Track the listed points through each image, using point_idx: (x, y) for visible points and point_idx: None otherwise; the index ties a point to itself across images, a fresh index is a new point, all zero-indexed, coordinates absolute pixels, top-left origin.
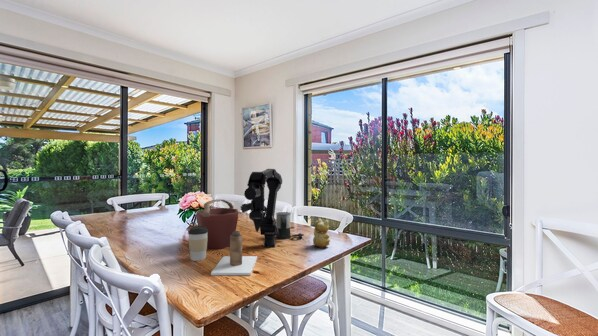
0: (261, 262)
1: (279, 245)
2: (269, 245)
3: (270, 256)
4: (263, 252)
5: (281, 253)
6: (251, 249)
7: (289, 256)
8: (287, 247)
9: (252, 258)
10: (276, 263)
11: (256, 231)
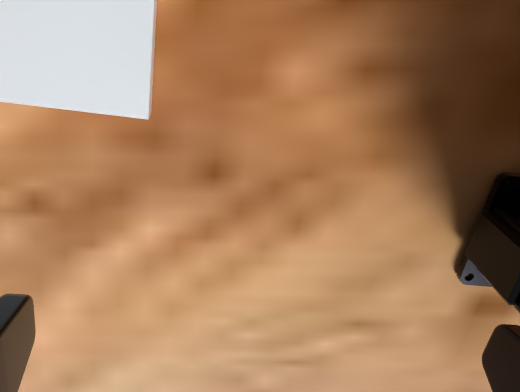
0: (22, 155)
1: (498, 312)
2: (474, 243)
3: (199, 237)
4: (332, 175)
5: (270, 322)
6: (474, 42)
7: (184, 371)
8: (419, 365)
9: (67, 65)
10: (5, 281)
11: (6, 303)
